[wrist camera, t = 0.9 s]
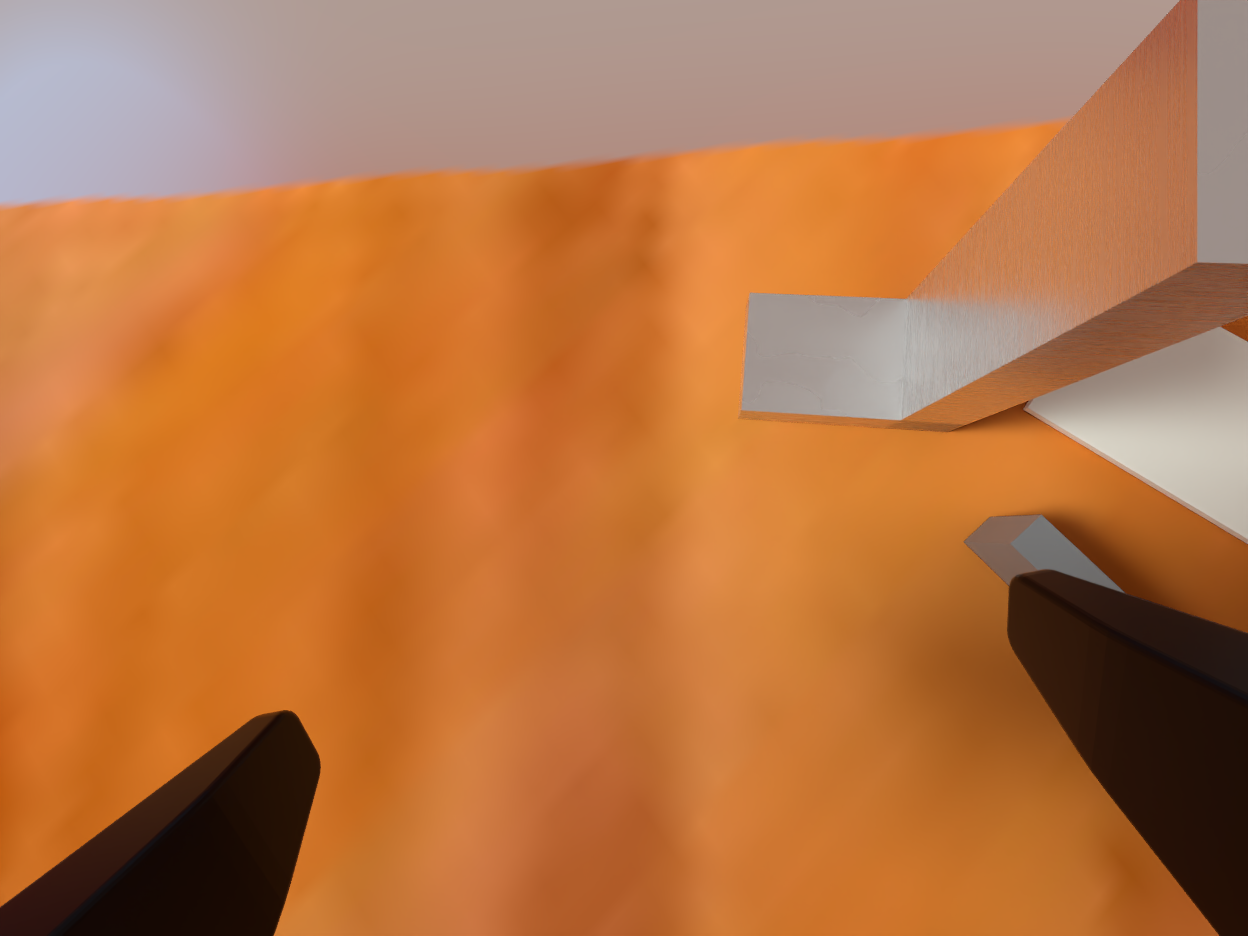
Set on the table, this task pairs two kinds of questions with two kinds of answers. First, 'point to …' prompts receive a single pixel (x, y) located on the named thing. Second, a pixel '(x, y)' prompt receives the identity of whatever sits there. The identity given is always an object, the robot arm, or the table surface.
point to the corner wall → (1031, 549)
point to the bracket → (1047, 258)
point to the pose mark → (1169, 423)
